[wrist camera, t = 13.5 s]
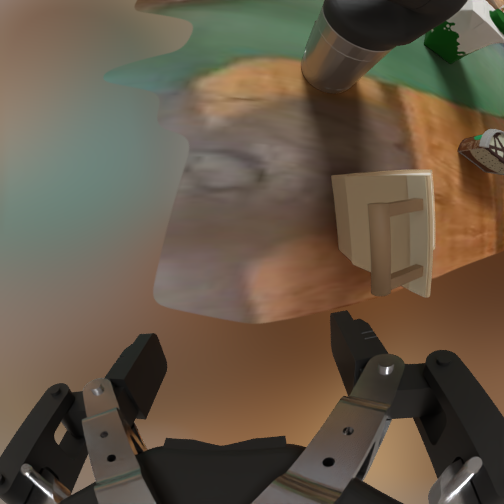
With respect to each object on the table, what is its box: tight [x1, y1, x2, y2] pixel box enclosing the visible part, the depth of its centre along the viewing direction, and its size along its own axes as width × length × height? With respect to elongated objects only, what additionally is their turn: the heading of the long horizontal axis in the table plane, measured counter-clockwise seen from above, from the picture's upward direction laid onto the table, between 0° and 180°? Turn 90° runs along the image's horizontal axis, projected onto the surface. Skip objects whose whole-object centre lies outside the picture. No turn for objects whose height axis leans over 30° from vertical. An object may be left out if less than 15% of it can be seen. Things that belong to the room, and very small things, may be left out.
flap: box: [345, 175, 433, 297], centre depth 27 cm, size 12×14×7 cm
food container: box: [458, 129, 504, 175], centre depth 33 cm, size 12×6×10 cm, turn 73°
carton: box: [331, 170, 435, 261], centre depth 38 cm, size 12×14×8 cm
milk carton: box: [424, 0, 504, 64], centre depth 22 cm, size 9×9×20 cm
